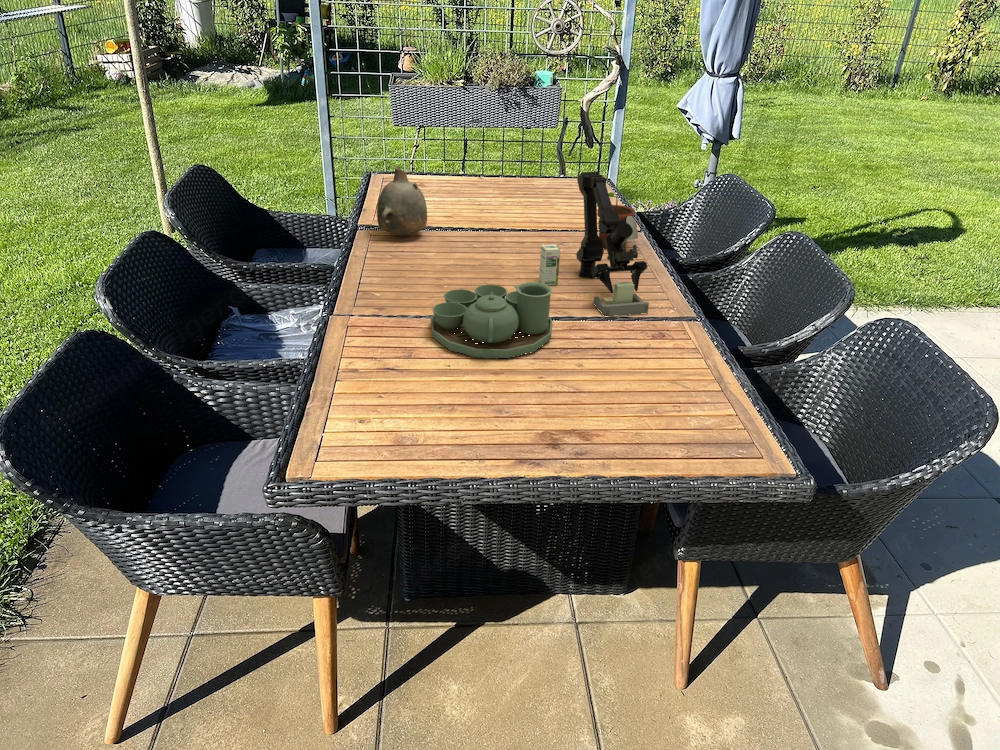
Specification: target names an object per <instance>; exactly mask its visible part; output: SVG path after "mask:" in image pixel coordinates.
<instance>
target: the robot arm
mask: <svg viewBox="0 0 1000 750" xmlns="http://www.w3.org/2000/svg"><path fill="white" fill-rule="evenodd" d="M577 185H578V190H579V192H580V193H581V195H582V196H583V215H584V216H583V218H584V237H583V238H582V239H581V242H580V248H579V249H578V250H577V252H576V253H575V255H576V260H578V262H580V268H579V270H578V274H577V275H578V276H579V278H586V277H589V278H588V279H595V278H596V280H600V282H601V283H602V284H603V285H604V286H605V287H606V289H607V290H608V291H609V292H610V294H614V287H613V284H612V281H611V273H616V272H618V273H621V272H630V274H631V275H630V277H631V282H632V283H633V284H634V291H635V292H638V291H639V282H640V279H641V274H643V273H644V272H645V271H646V270H647V269H648V263H647V262H646V261H645V260H640V261H639V260H638V261H635V262H634V263H633V264H631V265H628V264H630V263H631V261H632V262H633V261H634V259H638V257H639V256H638V255H639V254H638V248H637V249H633V248H631V249H629V251H627V249H626V248H625V249H624V248H623V244H624V243H625V242H626V243H627V241H629V240H628V238H629V237H630V236H631V235H632V233H633V229H632V227H631V226H630V225H629V224H627V223H626V222H625V220H620V218H619V215H618V213H616V212H615V211H614V210H613V208H612V205H613V204H612V201H611V197H610V196H609V194H608V193H609V191H608V187H607V179H606V177H605V176H604V175H602V174H600V173H599V171H582V172H580V174H579V175H578V176H577ZM598 209H599V213H600V217H598ZM598 218H599V219H598ZM599 230H600V232H601V233H602V234H610V235H608V236H607V237H606V239H605V241H604V244H606V247H607V256H606V260H608V261H609V264H610V266H609V264H608V263H606V262H605V263H596V262H602V258H603V256H604V252H605V249H603V241H602V239H600V238H599V233H598V231H599ZM578 276H577V277H578Z"/></svg>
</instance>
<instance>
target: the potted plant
mask: <svg viewBox="0 0 1000 750" xmlns="http://www.w3.org/2000/svg"><path fill="white" fill-rule="evenodd" d="M629 190H630V189H628V188H622V189H621V190H620V193H618V194H617V195H615V193H614V192H608V194H609V197H610V198H615V199H616V200H615V201H616V203H615V204H612V208H613V210H614V211H615V212H616V213H618V215H619V218H620V220H625V222H626V223H627V224H629V225H630V226H631V227H632V229H633V233H632V235H631V236H630V237H629V238H628V240H627V241H631V243H633V245H632V249H637V250H638V248H637V247H638V246H637V245H636V242H634V240H636V239H638V238H639V233H638V224H637V222H636V219H635V218H634V217H635V215H636V212H635V209H634V208H631V207H629V206H625V205H622V204H621V205H620V204H618V197H619V196H620V195H624V194H625V193H627V192H628V191H629ZM597 218H600V213H599V209H598V208H597ZM598 231H599V232H598V236H599V238H600V239H602V241H603V248H604V249H603V250H606V249H607V247H606V244H604V241H605V239H606V237H607V236H608V235H610V234H602V233H601V232H600V230H599V229H598ZM627 241H626V242H625V243H624V244H623V248H625V249H626V245H627Z"/></svg>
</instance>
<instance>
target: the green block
mask: <svg viewBox="0 0 1000 750" xmlns="http://www.w3.org/2000/svg"><path fill="white" fill-rule="evenodd" d="M634 291H635V289H634V284H633V282H632V281H624V282H614V287H613V293H612V295H613V296H612V297H613V302H612V304H623V303H632V299H633V294H634Z"/></svg>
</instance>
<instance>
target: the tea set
mask: <svg viewBox="0 0 1000 750" xmlns="http://www.w3.org/2000/svg"><path fill="white" fill-rule="evenodd" d="M513 287H514V288H515V290H513V291H511V292H508V290H507V288H506V287H504V286H502V285H498V284H483V285H479V286H477V287H476V288H475V289H474V291H471V290H470V289H462V288H460V289H451V290H449V291H446V292H445V293H444V294H443V298H444V300H445V302H441V303H438V304H436V305H434V306H433V307H432V313H433V314H432V315H431V316H430V326H431V335H432V338H433V339H434V338H435V339H436V340H437V341H436V340H435V339H434V340H435V341H436V342H438V343H439V342H440V343H441V344H440V343H439V344H440V345H442V344H443V345H444V346H445V348H446V349H447V348H448V349H449V350H448V349H447V350H448V351H450V350H452V351H451V352H453V351H456V352H455V353H457V352H459V353H458V354H460V353H463V354H462V355H464V354H466V355H465V356H467V355H470V356H469V357H471V356H473V357H472V358H475V357H483V358H482V359H498V358H508V359H510V358H509V357H513V356H517V357H519V356H518V355H521V354H525V353H530V352H534V351H535V352H537V351H538V350H539V349H541V348H542V347H543V346H542V345H544V344H545V343H546V344H547V342H548V341H549V340H550V341H551V339H552V330H553V319H552V318H551V317H550V309H551V308H550V304H551V294H552V293H553V292H554V291H553V289H552V287H551V285H549V286H548V285H546V284H542V283H541V282H535V281H533V282H532V281H528V282H524V283H519V284H517V285H516V284H515V285H513ZM457 328H458V329H457ZM461 332H462V333H461ZM519 332H521V333H519ZM454 333H455V334H454ZM514 333H515V334H514ZM528 335H530V336H528ZM522 336H524V337H522ZM515 337H518V338H515ZM510 338H511V339H510ZM472 339H474V340H472ZM465 340H467V341H465ZM550 341H549V342H550ZM482 342H484V343H482ZM549 342H548V343H549ZM475 343H478V344H475ZM546 344H545V345H546ZM443 345H442V346H443ZM545 345H544V346H545ZM444 346H443V347H444ZM541 346H542V347H541ZM540 347H541V348H540ZM538 348H539V349H538ZM537 349H538V350H537ZM536 350H537V351H536ZM535 352H534V353H535ZM530 354H531V353H530ZM525 355H526V354H525ZM521 356H522V355H521ZM487 357H489V358H487ZM513 358H514V357H513Z"/></svg>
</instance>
